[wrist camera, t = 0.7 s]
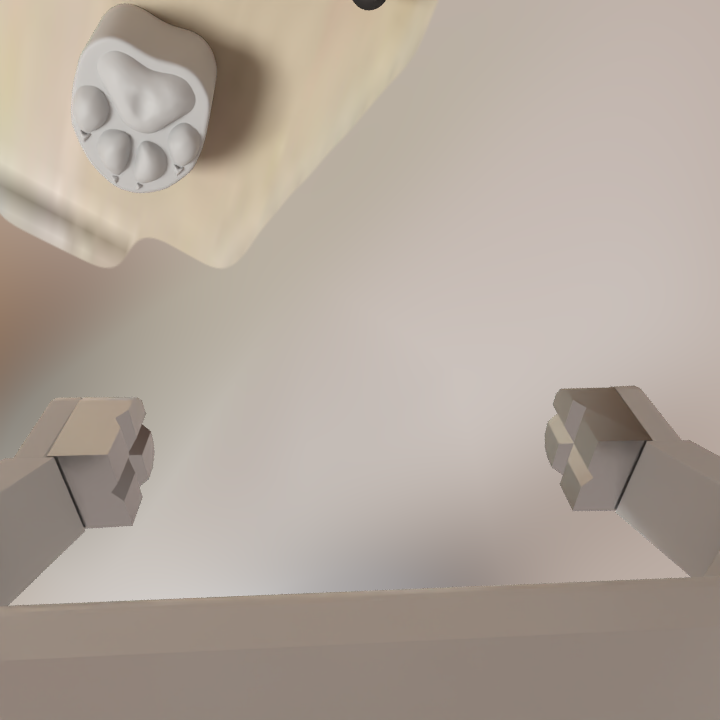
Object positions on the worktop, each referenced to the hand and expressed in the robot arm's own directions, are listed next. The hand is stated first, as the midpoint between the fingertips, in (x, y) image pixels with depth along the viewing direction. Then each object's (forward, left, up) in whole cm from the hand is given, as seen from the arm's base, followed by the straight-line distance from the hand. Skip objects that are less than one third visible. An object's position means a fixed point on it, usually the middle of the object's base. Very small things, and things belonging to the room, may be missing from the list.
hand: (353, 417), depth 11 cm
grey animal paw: (+19, -5, -47) cm, 51 cm away
